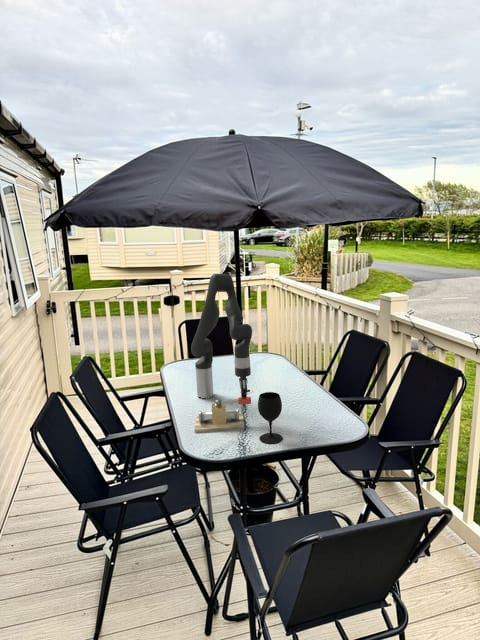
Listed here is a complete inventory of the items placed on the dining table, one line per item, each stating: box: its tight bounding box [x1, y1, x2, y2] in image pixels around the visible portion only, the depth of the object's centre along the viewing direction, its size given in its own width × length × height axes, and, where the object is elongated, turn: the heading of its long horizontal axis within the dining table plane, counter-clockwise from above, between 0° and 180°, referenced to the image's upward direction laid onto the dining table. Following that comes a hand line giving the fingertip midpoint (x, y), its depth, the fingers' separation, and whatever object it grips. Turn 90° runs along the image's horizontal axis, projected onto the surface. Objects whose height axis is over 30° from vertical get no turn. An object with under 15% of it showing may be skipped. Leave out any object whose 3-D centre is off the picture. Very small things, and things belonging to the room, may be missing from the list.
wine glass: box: [257, 391, 284, 445], centre depth 186 cm, size 10×10×20 cm
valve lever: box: [214, 396, 252, 406], centre depth 203 cm, size 17×3×3 cm, turn 93°
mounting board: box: [193, 413, 245, 433], centre depth 205 cm, size 15×23×2 cm, turn 91°
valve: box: [198, 402, 240, 425], centre depth 204 cm, size 6×19×8 cm, turn 91°
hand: (244, 399), depth 207 cm, fingers closed
